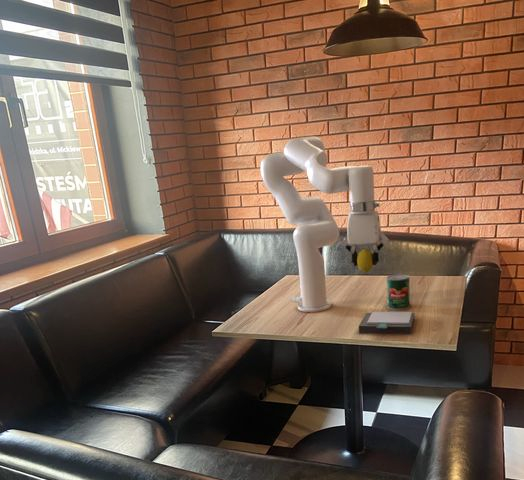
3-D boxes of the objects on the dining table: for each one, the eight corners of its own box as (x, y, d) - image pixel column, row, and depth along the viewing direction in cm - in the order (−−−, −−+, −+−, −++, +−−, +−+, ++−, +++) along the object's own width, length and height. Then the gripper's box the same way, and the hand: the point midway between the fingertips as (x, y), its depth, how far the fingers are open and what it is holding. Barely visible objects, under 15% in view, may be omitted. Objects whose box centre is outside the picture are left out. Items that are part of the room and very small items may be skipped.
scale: (357, 335, 169) (357, 326, 168) (366, 319, 183) (366, 310, 182) (409, 336, 163) (409, 327, 162) (414, 320, 177) (414, 311, 176)
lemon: (374, 274, 171) (373, 249, 168) (356, 275, 172) (355, 250, 169) (374, 270, 176) (373, 246, 173) (357, 271, 177) (356, 247, 174)
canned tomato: (402, 302, 197) (402, 273, 193) (414, 307, 190) (413, 277, 186) (383, 306, 196) (382, 276, 192) (393, 311, 188) (393, 280, 185)
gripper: (392, 203, 167) (394, 261, 173) (338, 208, 173) (342, 263, 179) (388, 206, 161) (391, 266, 167) (332, 211, 167) (336, 268, 173)
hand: (365, 264), depth 173 cm, fingers closed on lemon, 5 cm apart
